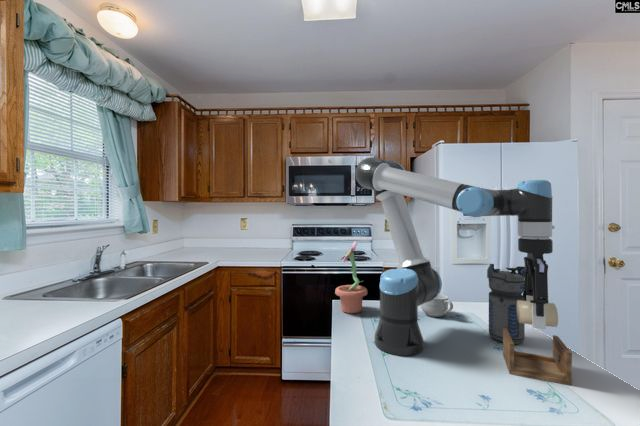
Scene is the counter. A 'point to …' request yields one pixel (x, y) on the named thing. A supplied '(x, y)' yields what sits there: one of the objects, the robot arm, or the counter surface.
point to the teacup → (437, 306)
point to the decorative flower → (351, 288)
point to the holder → (539, 362)
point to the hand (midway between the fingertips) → (535, 323)
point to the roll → (526, 313)
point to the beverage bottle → (506, 302)
